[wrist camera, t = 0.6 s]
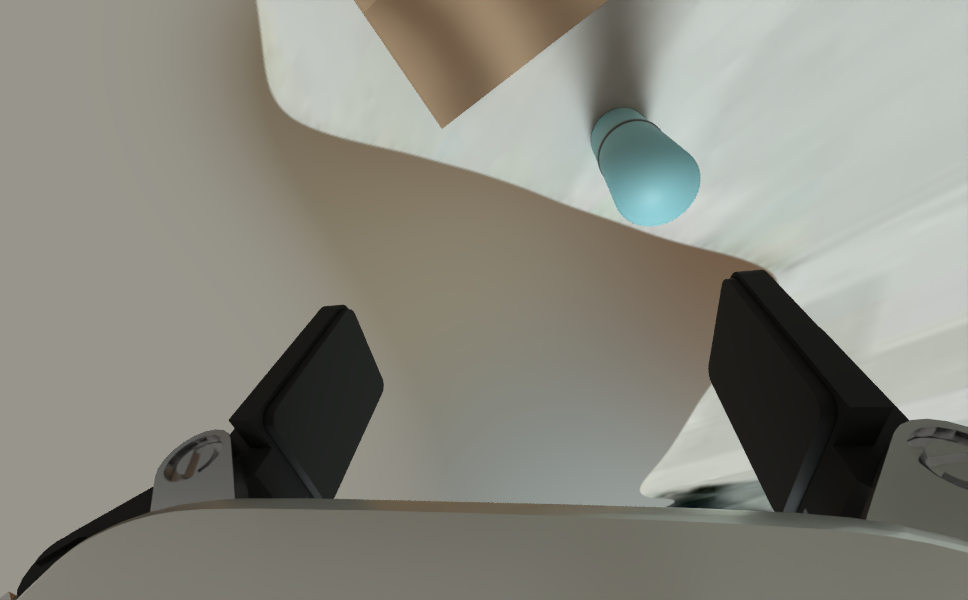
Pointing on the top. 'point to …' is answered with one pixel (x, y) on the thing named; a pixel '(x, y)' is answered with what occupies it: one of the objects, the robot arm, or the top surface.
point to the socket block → (468, 42)
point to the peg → (643, 168)
